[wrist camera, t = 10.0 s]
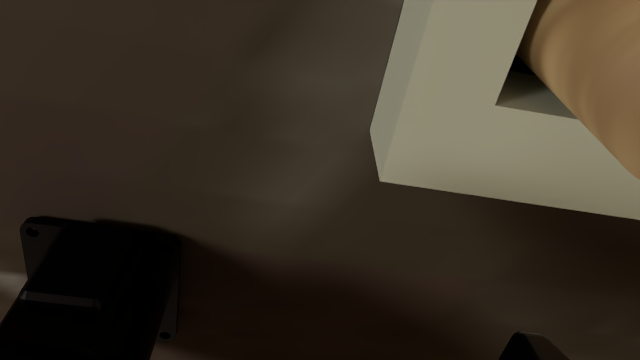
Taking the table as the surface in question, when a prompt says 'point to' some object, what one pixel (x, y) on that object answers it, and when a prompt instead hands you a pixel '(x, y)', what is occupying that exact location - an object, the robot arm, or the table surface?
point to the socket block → (486, 116)
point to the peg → (591, 67)
